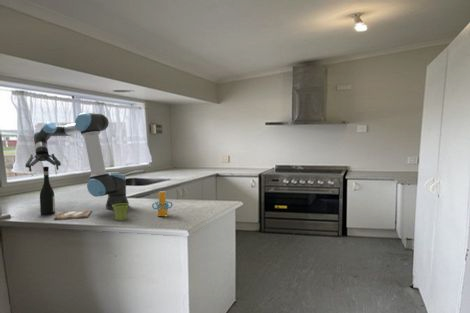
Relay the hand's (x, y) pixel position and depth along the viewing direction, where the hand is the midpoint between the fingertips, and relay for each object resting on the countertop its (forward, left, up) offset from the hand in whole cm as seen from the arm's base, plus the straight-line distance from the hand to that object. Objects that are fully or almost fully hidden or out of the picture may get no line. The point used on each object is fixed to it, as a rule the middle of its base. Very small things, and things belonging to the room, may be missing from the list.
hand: (44, 173), depth 213 cm
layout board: (-21, +20, -24) cm, 38 cm away
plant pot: (-50, +37, -25) cm, 66 cm away
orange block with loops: (-74, +35, -25) cm, 85 cm away
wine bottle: (-4, +10, -25) cm, 27 cm away
